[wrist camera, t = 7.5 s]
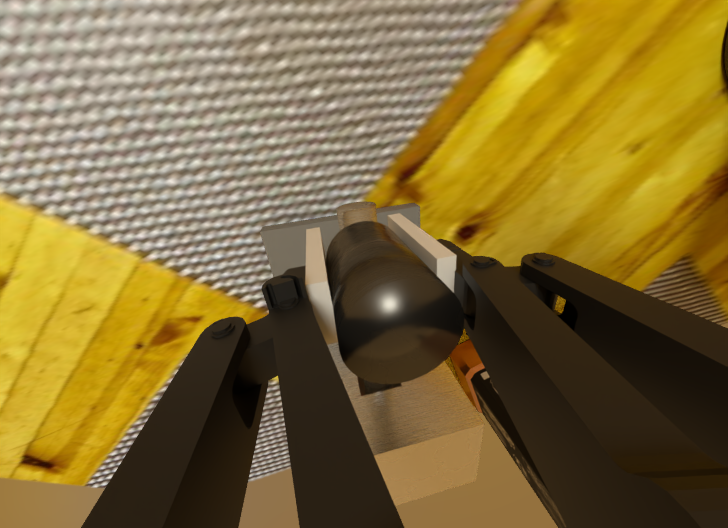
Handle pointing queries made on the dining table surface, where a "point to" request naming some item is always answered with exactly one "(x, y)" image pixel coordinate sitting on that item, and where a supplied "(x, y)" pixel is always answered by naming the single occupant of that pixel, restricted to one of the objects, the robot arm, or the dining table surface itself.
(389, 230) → the crank handle
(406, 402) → the block
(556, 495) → the robot arm
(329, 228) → the base board
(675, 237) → the dining table surface
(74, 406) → the dining table surface
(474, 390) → the whiskey bottle
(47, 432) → the dining table surface
